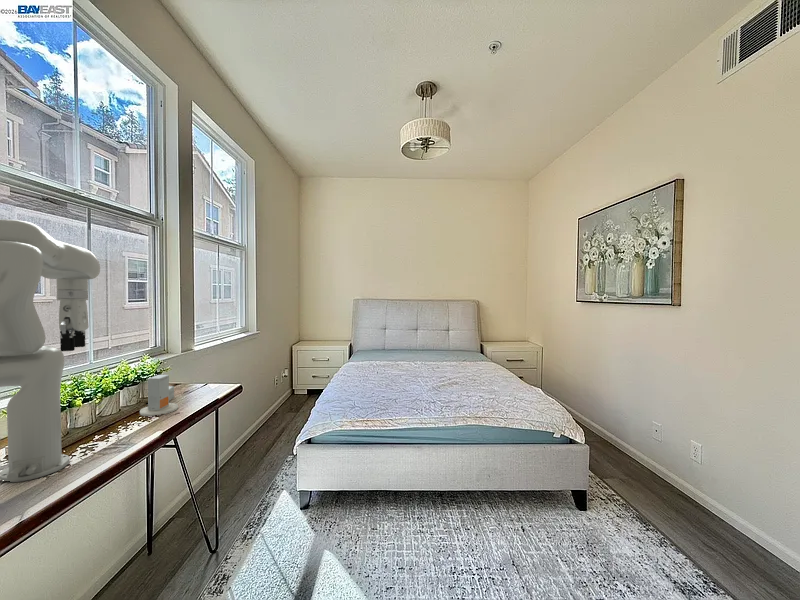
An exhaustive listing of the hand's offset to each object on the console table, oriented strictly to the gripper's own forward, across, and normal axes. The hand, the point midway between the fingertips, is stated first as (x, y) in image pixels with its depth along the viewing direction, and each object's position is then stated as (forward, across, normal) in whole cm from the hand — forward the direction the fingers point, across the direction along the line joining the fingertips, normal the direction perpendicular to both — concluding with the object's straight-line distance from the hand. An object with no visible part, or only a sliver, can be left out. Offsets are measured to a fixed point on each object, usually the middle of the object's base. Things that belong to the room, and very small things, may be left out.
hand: (73, 348), depth 116 cm
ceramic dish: (+26, +11, -22) cm, 36 cm away
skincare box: (+26, +11, -21) cm, 35 cm away
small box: (+26, +26, -20) cm, 42 cm away
